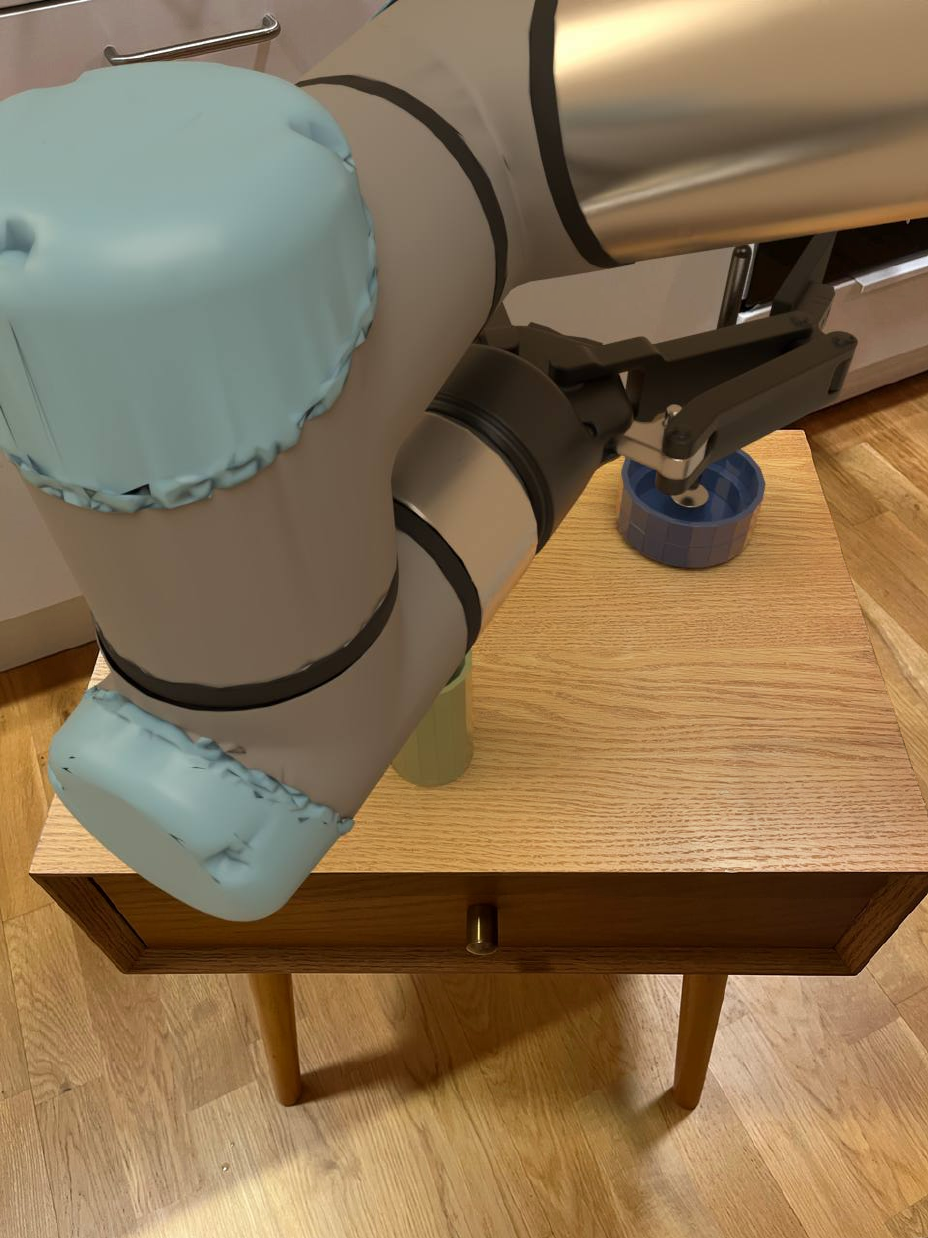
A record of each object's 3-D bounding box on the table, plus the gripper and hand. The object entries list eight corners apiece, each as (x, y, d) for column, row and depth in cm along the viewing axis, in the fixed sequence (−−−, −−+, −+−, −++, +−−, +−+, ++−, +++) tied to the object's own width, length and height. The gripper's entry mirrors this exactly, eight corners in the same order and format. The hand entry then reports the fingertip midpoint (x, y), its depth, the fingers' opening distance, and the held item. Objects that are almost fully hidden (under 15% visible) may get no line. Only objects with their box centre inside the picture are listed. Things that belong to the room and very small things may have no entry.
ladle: (708, 526, 76) (776, 254, 59) (672, 531, 76) (729, 259, 58) (696, 500, 78) (758, 229, 61) (660, 505, 78) (712, 234, 60)
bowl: (763, 571, 74) (779, 525, 70) (623, 574, 74) (630, 527, 70) (736, 478, 81) (749, 430, 77) (608, 480, 81) (614, 433, 77)
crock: (474, 786, 62) (472, 695, 54) (387, 787, 62) (374, 697, 54) (472, 714, 66) (471, 620, 58) (390, 716, 66) (378, 621, 58)
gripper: (190, 463, 40) (446, 235, 52) (777, 700, 32) (922, 365, 44) (141, 301, 34) (442, 86, 46) (842, 539, 26) (988, 203, 38)
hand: (676, 221), depth 45 cm, fingers open, 13 cm apart
